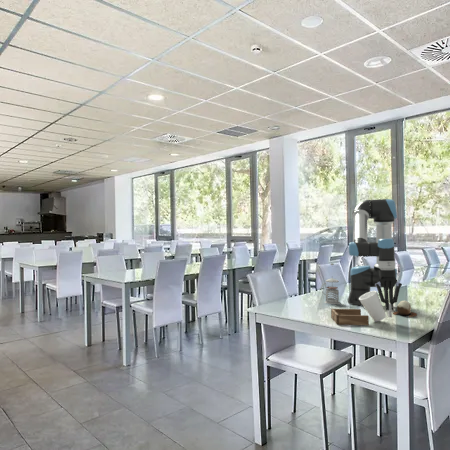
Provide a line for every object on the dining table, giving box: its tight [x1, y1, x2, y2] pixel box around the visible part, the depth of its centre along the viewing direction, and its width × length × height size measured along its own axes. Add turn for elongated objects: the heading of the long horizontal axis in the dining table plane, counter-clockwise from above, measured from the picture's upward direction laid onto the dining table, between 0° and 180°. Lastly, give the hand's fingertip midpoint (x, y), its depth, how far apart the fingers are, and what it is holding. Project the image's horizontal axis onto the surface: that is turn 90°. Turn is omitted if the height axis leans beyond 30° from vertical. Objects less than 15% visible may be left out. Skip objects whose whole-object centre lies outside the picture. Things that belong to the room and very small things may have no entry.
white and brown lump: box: [392, 300, 418, 318], centre depth 212 cm, size 12×10×10 cm
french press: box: [320, 262, 341, 305], centre depth 247 cm, size 10×12×25 cm
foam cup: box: [359, 290, 387, 322], centre depth 196 cm, size 10×9×13 cm
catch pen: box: [330, 308, 370, 326], centre depth 197 cm, size 16×15×4 cm
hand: (389, 316), depth 194 cm, fingers closed
